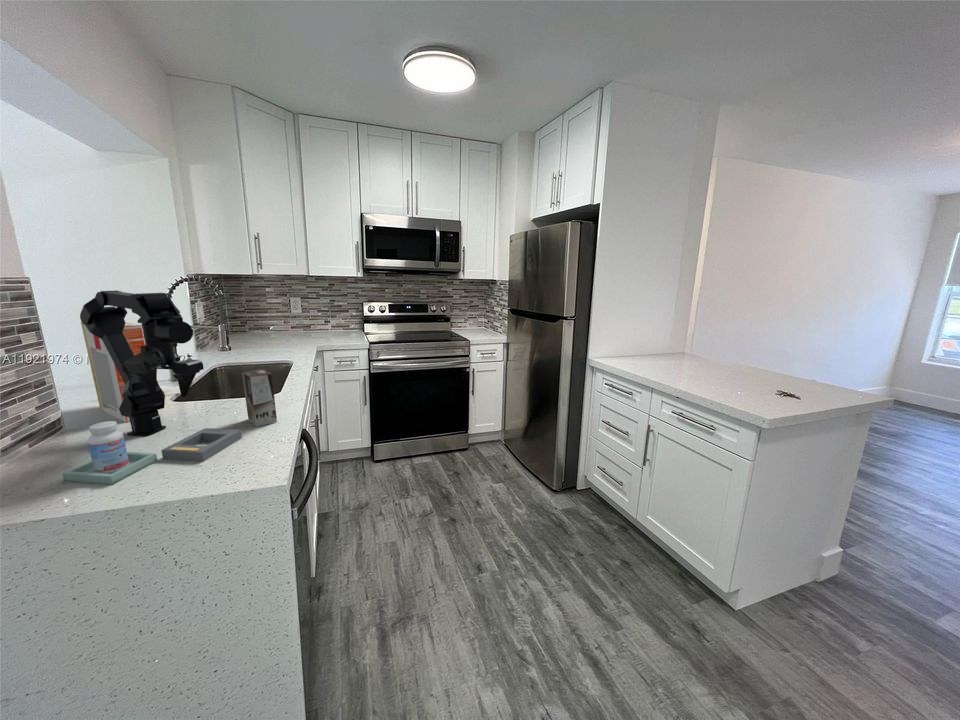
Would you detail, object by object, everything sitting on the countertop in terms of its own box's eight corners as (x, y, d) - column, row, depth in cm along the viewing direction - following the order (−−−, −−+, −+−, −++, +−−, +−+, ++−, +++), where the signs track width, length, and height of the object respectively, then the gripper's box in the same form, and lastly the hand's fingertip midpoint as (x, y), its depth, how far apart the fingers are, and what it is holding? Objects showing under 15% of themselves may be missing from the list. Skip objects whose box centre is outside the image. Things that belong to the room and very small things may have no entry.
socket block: (163, 459, 96) (161, 449, 95) (206, 436, 110) (204, 427, 109) (203, 461, 95) (201, 451, 95) (242, 438, 109) (240, 429, 108)
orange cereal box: (158, 414, 125) (141, 325, 118) (126, 422, 118) (106, 327, 112) (130, 402, 136) (113, 319, 130) (100, 408, 130) (80, 322, 123)
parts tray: (64, 481, 85) (61, 473, 85) (113, 458, 96) (112, 451, 96) (112, 484, 84) (111, 476, 84) (157, 460, 95) (156, 453, 95)
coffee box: (278, 422, 121) (272, 373, 117) (255, 427, 116) (249, 377, 113) (269, 414, 127) (263, 368, 123) (247, 419, 123) (241, 371, 119)
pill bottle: (108, 476, 87) (97, 431, 84) (87, 473, 88) (76, 428, 85) (136, 464, 92) (127, 421, 90) (116, 461, 94) (107, 418, 91)
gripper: (94, 344, 94) (107, 404, 97) (164, 347, 92) (174, 407, 96) (137, 337, 105) (147, 391, 108) (200, 339, 103) (209, 393, 107)
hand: (168, 395), depth 104 cm, fingers open, 9 cm apart
